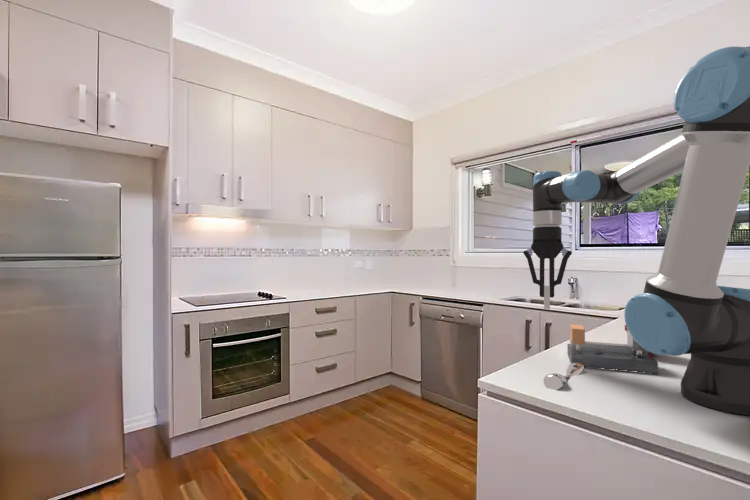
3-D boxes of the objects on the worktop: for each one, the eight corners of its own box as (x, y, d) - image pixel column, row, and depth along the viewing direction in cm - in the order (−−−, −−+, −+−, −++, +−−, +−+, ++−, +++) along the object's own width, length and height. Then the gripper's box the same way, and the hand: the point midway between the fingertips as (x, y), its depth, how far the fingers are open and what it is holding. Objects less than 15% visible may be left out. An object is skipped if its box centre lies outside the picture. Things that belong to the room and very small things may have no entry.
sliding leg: (584, 351, 104) (584, 329, 104) (572, 350, 105) (572, 328, 105) (581, 346, 110) (581, 325, 110) (570, 345, 111) (570, 324, 111)
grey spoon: (568, 353, 101) (588, 356, 98) (568, 366, 101) (588, 370, 98) (539, 375, 87) (562, 380, 84) (540, 391, 87) (562, 396, 84)
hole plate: (657, 374, 95) (657, 361, 95) (571, 365, 102) (571, 354, 102) (643, 360, 107) (643, 349, 107) (567, 353, 114) (567, 343, 114)
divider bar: (651, 358, 98) (651, 334, 98) (572, 351, 105) (572, 329, 105) (644, 352, 104) (644, 330, 104) (570, 346, 111) (570, 325, 111)
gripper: (571, 226, 112) (570, 308, 112) (523, 227, 117) (522, 305, 117) (573, 225, 105) (573, 312, 105) (522, 226, 110) (522, 309, 110)
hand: (546, 308), depth 111 cm, fingers closed
